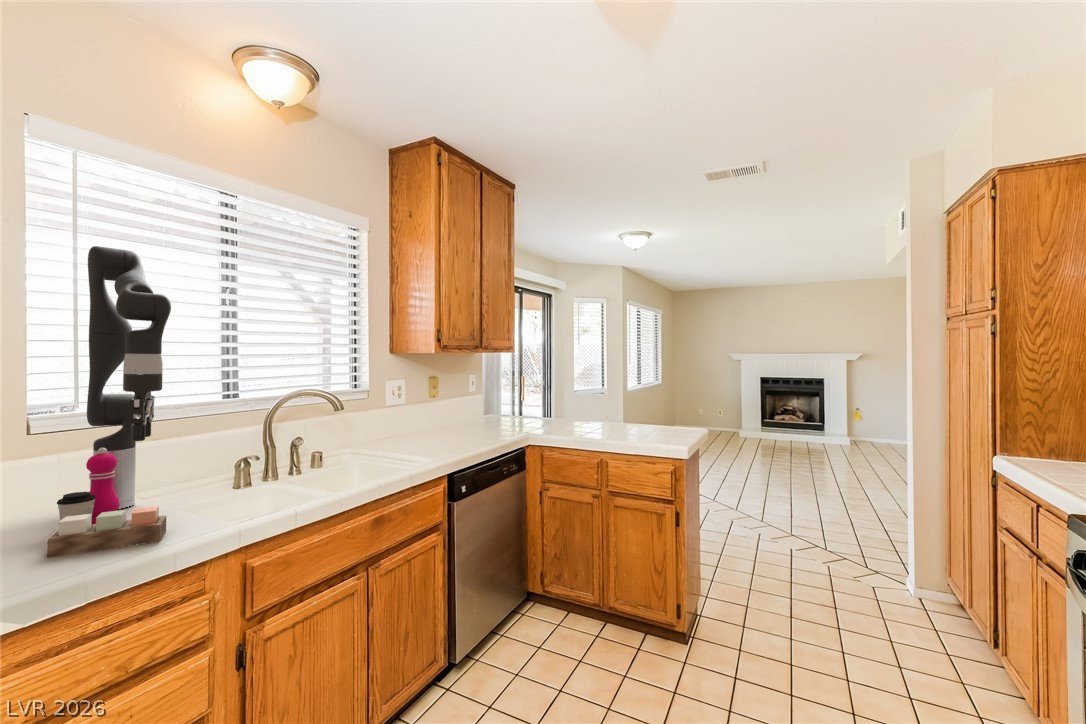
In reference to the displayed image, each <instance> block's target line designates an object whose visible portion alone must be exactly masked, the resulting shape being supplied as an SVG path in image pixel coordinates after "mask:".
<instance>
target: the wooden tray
mask: <svg viewBox="0 0 1086 724" xmlns="http://www.w3.org/2000/svg"><path fill="white" fill-rule="evenodd" d="M165 531H166V532H167V515H166V514H165V515H159V520H158V522H157V523H156V524H155V523H150V524H142V525H134V526H131V519H126V524H125V526H124V527H123V528H117V529H109V530H102V531H96V524H91V529H90V530H89V531H88V532H86V533H78V534H71V535H63V536H59V529H58V530H57V531H55V532H54V533H53V534H52V535H51V536H49V537H48V538H47V539H46V540H47V541H46V558H56V557H61V556H62V557H63V556H69V555H75V554H81V553H89V552H97V551H104V550H110V548H111V549H117V547H118V548H123V547H122V546H125V547H130V546H129V545H132V546H137V545H136V544H139V545H143V544H142V543H146V544H151V542H153V543H158V541H160V542H161V541H162V539H163V538H164V536H163V535H165V534H166V532H165ZM164 533H165V534H164ZM162 537H163V538H162Z"/></svg>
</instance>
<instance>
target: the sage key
mask: <svg viewBox="0 0 1086 724" xmlns="http://www.w3.org/2000/svg"><path fill="white" fill-rule="evenodd" d="M126 520H127V509H119V510H116V511H111V512H102V513H101V514H100V515H99V516H98V517H97V518H96V531H102V530H109V529H117V528H123V527H124V526H125V524H126Z"/></svg>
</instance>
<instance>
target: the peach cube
mask: <svg viewBox="0 0 1086 724" xmlns="http://www.w3.org/2000/svg"><path fill="white" fill-rule="evenodd" d="M159 508H160V506H159V505H156V506H155V505H154V506H148V507H147V506H146V507H140V508H138V507H137V508H134V510H133V511H132V512H131V517H130V518H131V519H130V520H131V526H134V525H142V524H150V523H155V524H156V523H157V522H158V520H159V516H160V515H159V514H160V513H159V511H160V509H159Z"/></svg>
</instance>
